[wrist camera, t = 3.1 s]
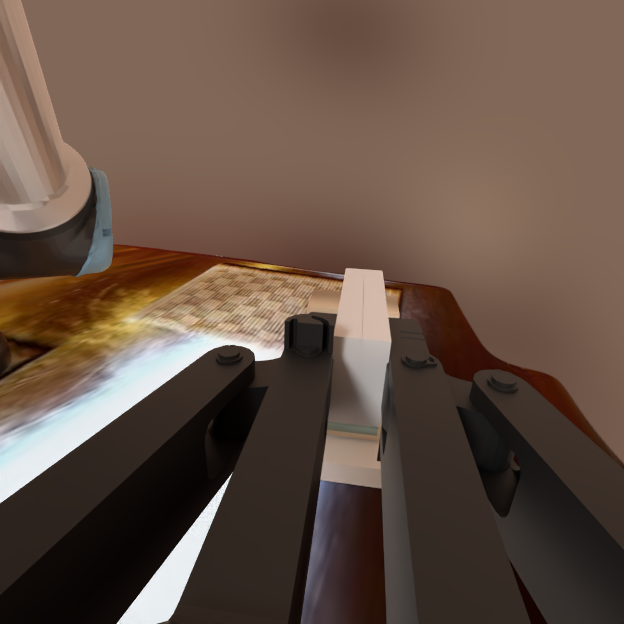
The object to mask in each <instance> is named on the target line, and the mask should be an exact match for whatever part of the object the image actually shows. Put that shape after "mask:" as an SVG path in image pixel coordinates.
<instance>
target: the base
mask: <svg viewBox="0 0 624 624" xmlns="http://www.w3.org/2000/svg"><path fill="white" fill-rule="evenodd" d="M378 448H379V441H376V440H368V439H360V438H352V437H344V436H336V435H328V434H327V437H326V444H325V451H324V458H323V465H322V472H321V480H324V481H331V482H338V483H345V484H353V485H360V486H367V487H374V488H382V486H381V462H380V461H377V455H378Z"/></svg>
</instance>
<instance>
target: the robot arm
mask: <svg viewBox="0 0 624 624" xmlns="http://www.w3.org/2000/svg"><path fill="white" fill-rule="evenodd" d="M111 230H112V213H111V202H110V192H109V185H108V180H107V177H106V175H105V173H104V172H102V171H101V170H99V169H93V168H92V167H87V166H86V163H85V161H84V160H83V158H82V157H81V156H80V154H79V153H77V151H75V150H74V149H73V148H72V147H70V146H69V145H68V144H67V143H65V142H63V140H62V137H61V134H60V130H59V128H58V124H57V120H56V117H55V113H54V110H53V107H52V104H51V100H50V97H49V93H48V90H47V86H46V83H45V80H44V76H43V73H42V70H41V66H40V63H39V60H38V56H37V53H36V49H35V46H34V43H33V39H32V36H31V33H30V29H29V26H28V22H27V19H26V16H25V12H24V9H23V5H22V2H21V0H0V280H12V279H26V278H39V277H53V276H66V275H71V276H75V277H78V276H81V275H83V274H89V273H97V272H102V271H104V270H106V269H107V268H108V267H109V266H110V264H111V262H112V255H113V236H112V231H111ZM10 362H11V353H10V350H9V346H8V343H7V340H6V338H5V337H4V335H3V334H2V333H1V332H0V374H1V373H2V372H3V371H4V370H5V369H6V368H7V367H8V365H9V364H10ZM381 417H382V425H381V433H380V440H379V448H378V455H377V461H380V462H381V486H382V512H383V537H384V563H385V589H386V615H387V624H531V622H530V620H529V617H528V614H527V611H526V608H525V605H524V602H523V599H522V596H521V593H520V591H519V588H518V585H517V582H516V579H515V576H514V573H513V570H512V567H511V564H510V561H511V563H512V564H513V566H514V568H515V569H516V571H517V573H518V574H519V576H520V578H521V580H522V581H523V583H524V585H525V586H526V588H527V590H528V591H529V593H530V595H531V596H532V598H533V600H534V601H535V603H536V605H537V607H538V608H539V610H540V612H541V613H542V615H543V617H544V618H545V620H546V622H547V623H548V624H624V469H623V468H622V467H621V466H620V465H618V464H617V463H616V462H615V461H614V460H613V459H612V458H611V457H610V456H608V455H607V454H606V453H605V452H604V451H603V450H602V449H601V448H600V447H598V446H597V445H596V444H595V443H594V442H593V441H592V440H591V439H590V438H588V437H587V436H586V435H585V434H584V433H583V432H582V431H581V430H580V429H578V428H577V427H576V426H575V425H574V424H573V423H572V422H571V421H570V420H568V419H567V418H566V417H565V416H564V415H563V414H562V413H561V412H560V411H558V410H557V409H556V408H555V407H554V406H553V405H552V404H551V403H550V402H548V401H547V400H546V399H545V398H544V397H543V396H542V395H541V394H540V393H538V392H537V391H536V390H535V389H534V388H533V387H532V386H531V385H530V384H528V383H527V382H526V381H524V380H523V379H521V378H520V377H517V376H515V375H513V374H511V373H509V372H506V371H504V372H503V371H502V370H482V371H479V372H477V373H475V375H474V379H473V383H472V382H468V381H464V380H461V379H457V378H454V377H451V376H449V375H447V374H445V373H444V370H443V367H442V364H441V363H440V361H439V360H438V359H437V358H435V357H434V356H432V355H430V354H429V350H428V347H427V344H426V341H425V337H424V335H423V331H422V328H421V326H420V325H419V324H418V323H417V322H415V321H414V320H412V319H401V318H389V317H388V311H387V303H386V295H385V287H384V279H383V272H382V271H378V270H365V269H351V268H346V271H345V276H344V281H343V287H342V292H341V297H340V303H339V308H338V314H332V313H321V312H310V313H309V314H299V315H294V316H291V317H289V318H287V319H286V320H285V335H284V351H283V353H282V356H281V357H280V358H277V359H273V360H266V361H255V356H254V353H253V352H252V351H251V350H250V349H248V348H245V347H242V346H236V345H230V346H229V345H225V346H222V347H218V348H214V349H212V350H210V351H209V352H207V353H206V354H204V355H203V356H201V357H200V358H199V359H197V360H196V361H195V362H193V363H192V364H190V365H189V366H188V367H186V368H185V369H184V370H182V371H181V372H180V373H178V374H177V375H175V376H174V377H173V378H171V379H170V380H169V381H167V382H166V383H164V384H163V385H162V386H160V387H159V388H158V389H156V390H155V391H154V392H152V393H151V394H149V395H148V396H147V397H145V398H144V399H143V400H141V401H140V402H138V403H137V404H136V405H134V406H133V407H132V408H130V409H129V410H127V411H126V412H125V413H123V414H122V415H121V416H119V417H118V418H117V419H115V420H114V421H112V422H111V423H110V424H108V425H107V426H106V427H104V428H103V429H101V430H100V431H99V432H97V433H96V434H95V435H93V436H92V437H91V438H89V439H88V440H86V441H85V442H84V443H82V444H81V445H80V446H78V447H77V448H75V449H74V450H73V451H71V452H70V453H69V454H67V455H66V456H65V457H63V458H62V459H60V460H59V461H58V462H56V463H55V464H54V465H52V466H51V467H49V468H48V469H47V470H45V471H44V472H43V473H41V474H40V475H39V476H37V477H36V478H34V479H33V480H32V481H30V482H29V483H28V484H26V485H25V486H23V487H22V488H21V489H19V490H18V491H17V492H15V493H14V494H13V495H11V496H10V497H8V498H7V499H6V500H4V501H3V502H2V503H0V624H117V622H118V621H119V620H120V618H121V617H122V616H123V614H124V613H125V612H126V611H127V609H128V608H129V607H130V605H131V604H132V603H133V601H134V600H135V599H136V598H137V596H138V595H139V594H140V592H141V591H142V590H143V588H144V587H145V586H146V584H147V583H148V582H149V581H150V579H151V578H152V577H153V575H154V574H155V573H156V571H157V570H158V569H159V568H160V566H161V565H162V564H163V562H164V561H165V560H166V558H167V557H168V556H169V555H170V553H171V552H172V551H173V549H174V548H175V547H176V545H177V544H178V543H179V541H180V540H181V539H182V538H183V536H184V535H185V534H186V532H187V531H188V530H189V528H190V527H191V526H192V525H193V523H194V522H195V521H196V519H197V518H198V517H199V515H200V514H201V513H202V511H203V510H204V509H205V508H206V506H207V505H208V504H209V502H210V501H211V500H212V498H213V497H214V496H215V495H216V493H217V492H218V491H219V489H220V488H221V487H222V485H223V484H224V483H225V482H226V480H227V479H228V478H229V476H230V475H231V474H232V476H231V478H230V481H229V483H228V485H227V488H226V490H225V493H224V495H223V497H222V500H221V502H220V505H219V507H218V509H217V512H216V514H215V517H214V519H213V521H212V524H211V526H210V529H209V531H208V533H207V536H206V538H205V541H204V543H203V546H202V548H201V550H200V553H199V555H198V558H197V560H196V562H195V565H194V567H193V570H192V572H191V574H190V577H189V579H188V582H187V584H186V586H185V589H184V591H183V594H182V596H181V598H180V601H179V603H178V605H177V607H176V609H175V611H174V613H173V615H172V616H171V618H170V619H169V620H168V621H165V622H162V623H158V624H300V623H301V616H302V609H303V602H304V594H305V587H306V580H307V573H308V566H309V559H310V551H311V544H312V537H313V530H314V523H315V515H316V508H317V501H318V494H319V487H320V480H321V472H322V465H323V458H324V451H325V444H326V437H327V426H328V421H329V422H337V423H346V424H354V425H363V426H371V427H380V423H381ZM514 454H515V455H516V457H517V459H518V462H519V465H520V467H519V466H518V465H517V464H516V463H515V462H514V460H513V458H514ZM232 472H233V473H232ZM508 558H509V559H510V561H509V559H508Z"/></svg>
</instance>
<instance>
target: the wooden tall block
mask: <svg viewBox="0 0 624 624" xmlns="http://www.w3.org/2000/svg"><path fill="white" fill-rule="evenodd" d="M340 297H341V292H340V291H329V290H318V289H314V290H313V293H312V296H311V298H310V301H309V304H308V306H307V314H309V313H310V312H321V313H332V314H338V308H339V303H340ZM386 303H387V311H388V317H389V318H399V316H400V314H399V309H398V304H397V298H396V296H386ZM381 425H382V417H381V423H380V427H371V426H363V425H354V424H346V423H337V422H329V421H328V426H327V434H328V435H336V436H344V437H352V438H360V439H368V440H376V441H379V440H380V433H381Z"/></svg>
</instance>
